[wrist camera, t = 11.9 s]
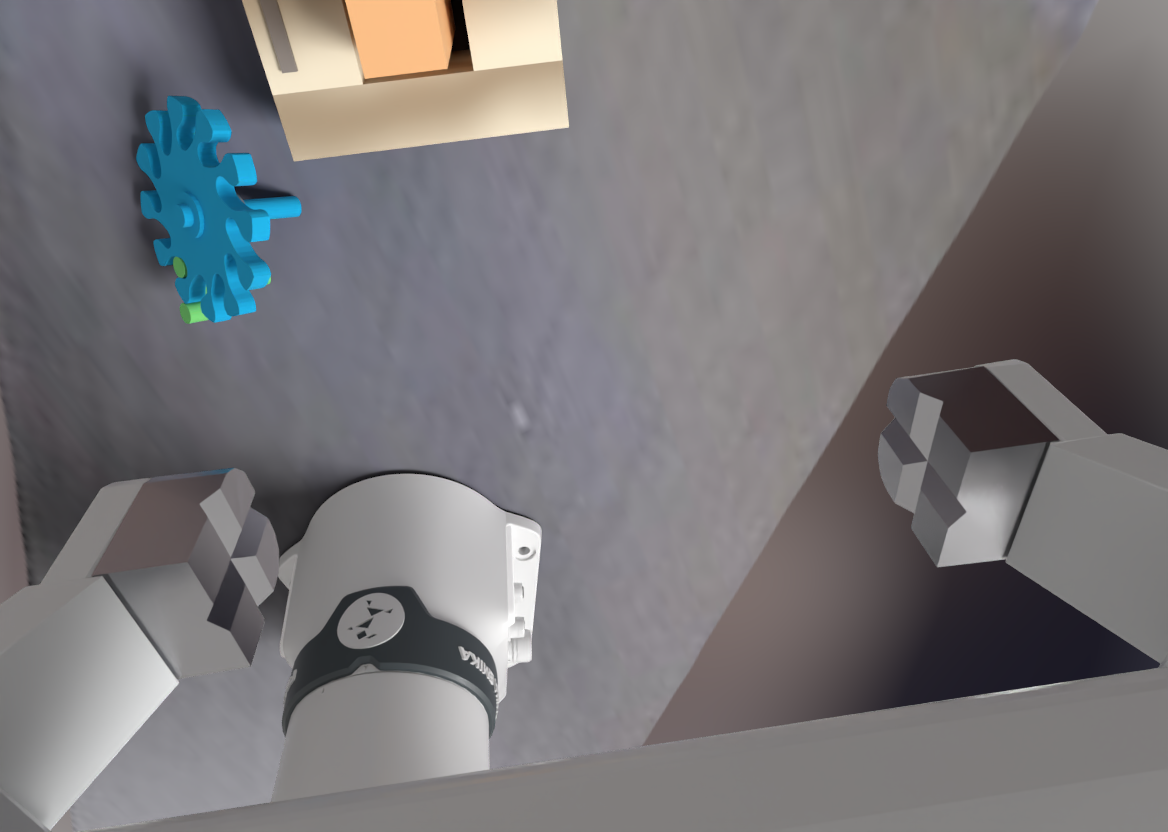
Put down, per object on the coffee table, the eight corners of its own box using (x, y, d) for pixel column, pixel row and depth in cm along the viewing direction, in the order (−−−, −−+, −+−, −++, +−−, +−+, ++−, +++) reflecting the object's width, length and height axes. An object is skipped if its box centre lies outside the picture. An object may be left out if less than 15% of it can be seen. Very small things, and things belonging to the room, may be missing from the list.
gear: (130, 47, 32) (257, 187, 29) (258, 58, 36) (379, 181, 33) (117, 254, 38) (219, 383, 35) (226, 242, 43) (325, 356, 40)
